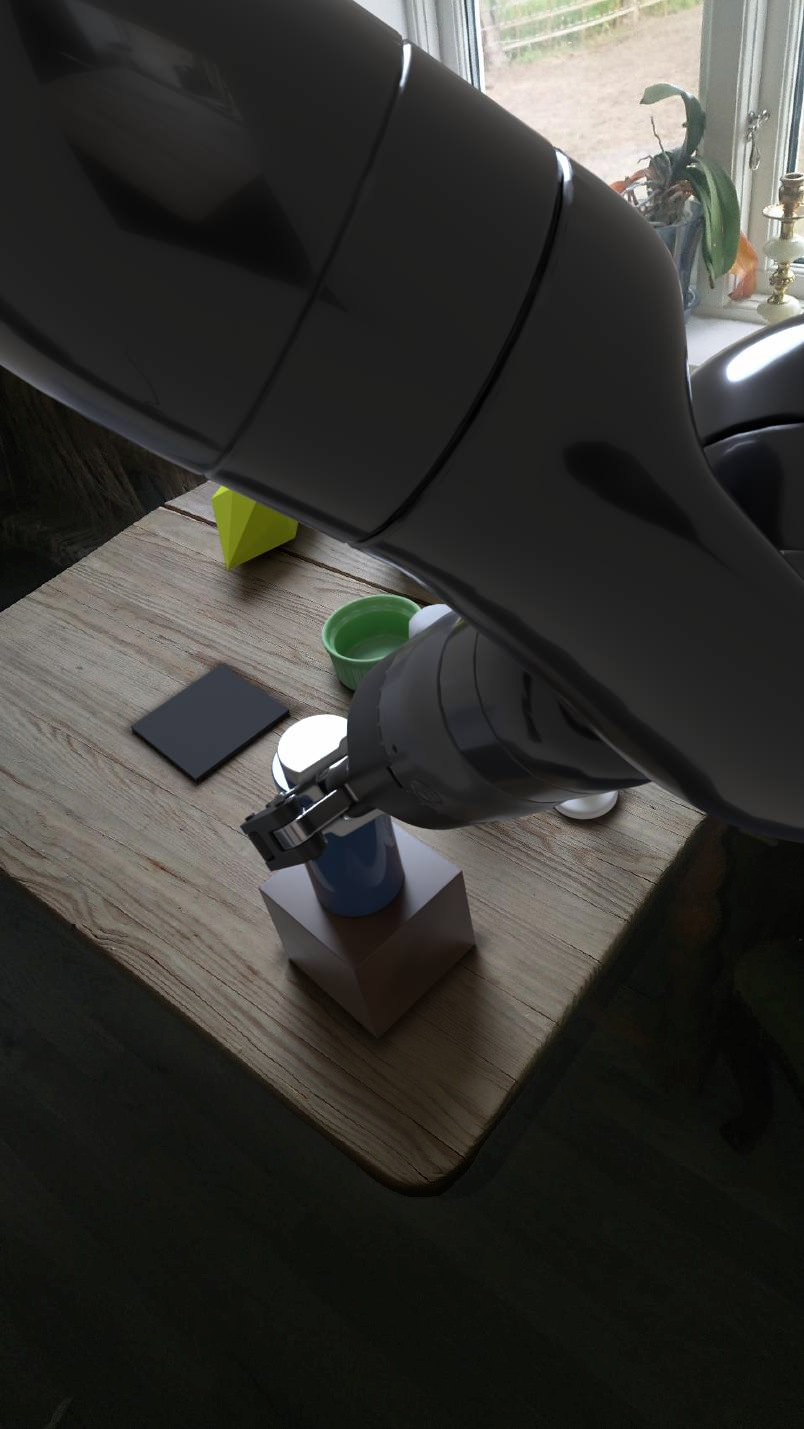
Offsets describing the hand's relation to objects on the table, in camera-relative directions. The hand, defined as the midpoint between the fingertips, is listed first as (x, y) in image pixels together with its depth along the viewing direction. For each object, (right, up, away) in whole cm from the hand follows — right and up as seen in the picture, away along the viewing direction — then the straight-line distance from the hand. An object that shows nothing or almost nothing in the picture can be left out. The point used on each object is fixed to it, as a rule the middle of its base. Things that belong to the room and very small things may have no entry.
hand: (348, 772), depth 50 cm
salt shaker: (+7, 0, +28) cm, 29 cm away
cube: (+1, -13, +15) cm, 20 cm away
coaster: (-14, +2, +34) cm, 37 cm away
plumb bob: (-11, +24, +56) cm, 61 cm away
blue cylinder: (0, -7, +10) cm, 12 cm away
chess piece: (+16, -3, +22) cm, 28 cm away
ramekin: (+1, +7, +36) cm, 37 cm away
